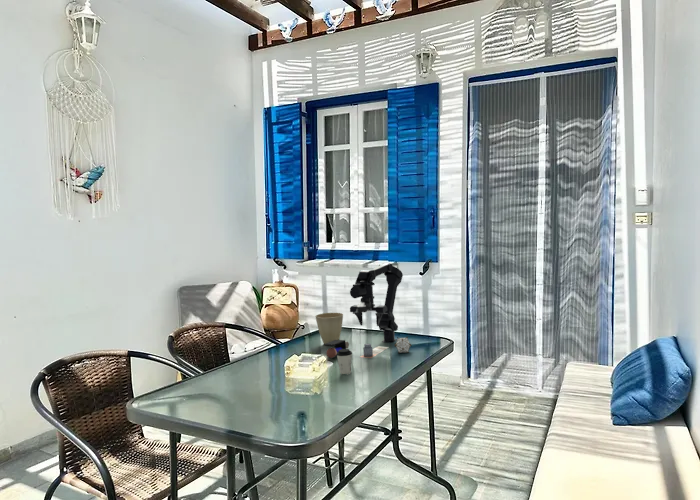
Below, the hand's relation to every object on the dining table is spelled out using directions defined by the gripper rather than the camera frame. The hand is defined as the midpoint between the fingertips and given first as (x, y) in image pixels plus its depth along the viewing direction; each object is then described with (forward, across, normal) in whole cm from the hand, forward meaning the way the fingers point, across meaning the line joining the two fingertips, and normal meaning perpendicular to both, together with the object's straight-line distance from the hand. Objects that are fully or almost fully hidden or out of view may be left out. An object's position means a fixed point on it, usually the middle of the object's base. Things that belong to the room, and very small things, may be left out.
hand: (369, 325), depth 253 cm
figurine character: (+12, -12, -14) cm, 22 cm away
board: (+12, +5, -6) cm, 14 cm away
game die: (+12, +19, -3) cm, 23 cm away
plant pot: (+12, -26, +4) cm, 29 cm away
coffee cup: (+12, +7, -39) cm, 41 cm away
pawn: (+12, +5, -13) cm, 18 cm away
